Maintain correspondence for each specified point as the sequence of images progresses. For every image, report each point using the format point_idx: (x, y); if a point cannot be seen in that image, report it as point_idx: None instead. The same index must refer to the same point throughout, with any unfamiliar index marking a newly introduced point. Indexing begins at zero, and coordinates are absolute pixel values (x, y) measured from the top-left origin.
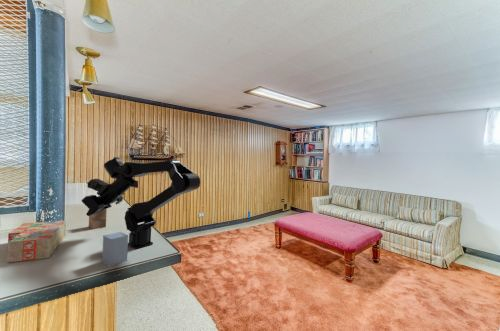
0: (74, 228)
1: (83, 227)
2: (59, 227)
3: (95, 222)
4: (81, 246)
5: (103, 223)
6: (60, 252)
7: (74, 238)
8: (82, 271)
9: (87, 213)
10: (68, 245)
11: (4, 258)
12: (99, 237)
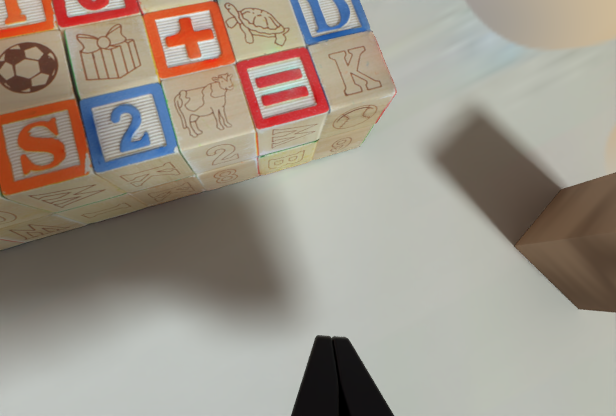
0: (516, 121)
1: (543, 163)
2: (180, 149)
3: (564, 251)
4: (152, 354)
5: (593, 297)
6: (53, 278)
7: (319, 223)
8: None
9: (309, 360)
10: (182, 257)
11: None
12: None
